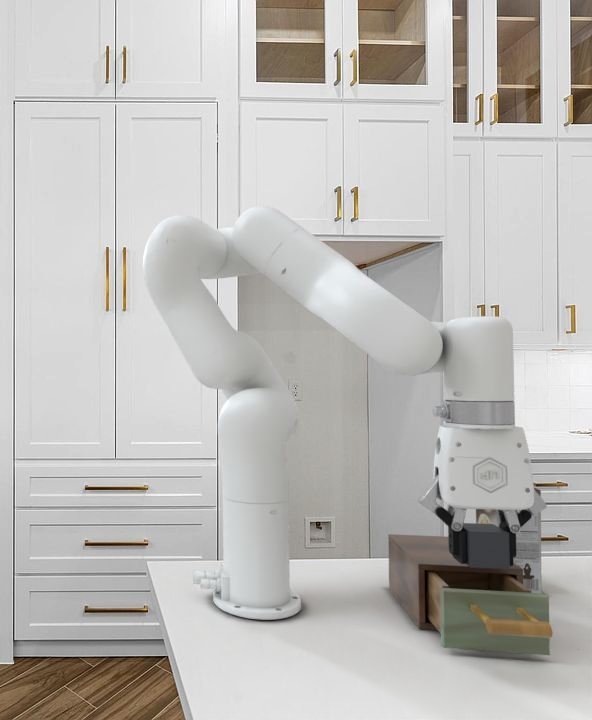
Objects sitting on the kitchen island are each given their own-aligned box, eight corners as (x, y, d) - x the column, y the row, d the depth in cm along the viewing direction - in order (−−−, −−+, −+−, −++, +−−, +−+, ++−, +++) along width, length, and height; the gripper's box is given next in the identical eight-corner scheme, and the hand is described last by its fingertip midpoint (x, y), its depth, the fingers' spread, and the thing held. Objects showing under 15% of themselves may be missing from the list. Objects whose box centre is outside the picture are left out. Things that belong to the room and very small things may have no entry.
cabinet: (524, 636, 77) (523, 568, 77) (419, 629, 79) (418, 563, 80) (477, 594, 91) (476, 537, 92) (389, 589, 94) (388, 534, 94)
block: (470, 567, 73) (469, 531, 73) (456, 556, 77) (455, 522, 78) (510, 569, 72) (509, 532, 72) (493, 558, 77) (493, 523, 77)
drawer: (582, 683, 64) (580, 619, 64) (465, 674, 66) (464, 611, 66) (497, 610, 83) (496, 560, 83) (409, 604, 85) (409, 556, 85)
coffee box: (474, 573, 101) (473, 477, 101) (517, 575, 100) (515, 478, 100) (498, 592, 92) (496, 487, 92) (545, 595, 91) (543, 489, 91)
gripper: (416, 417, 73) (419, 568, 73) (571, 417, 70) (575, 575, 70) (398, 413, 81) (401, 549, 80) (538, 413, 77) (541, 555, 77)
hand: (482, 560), depth 75 cm, fingers closed on block, 4 cm apart
